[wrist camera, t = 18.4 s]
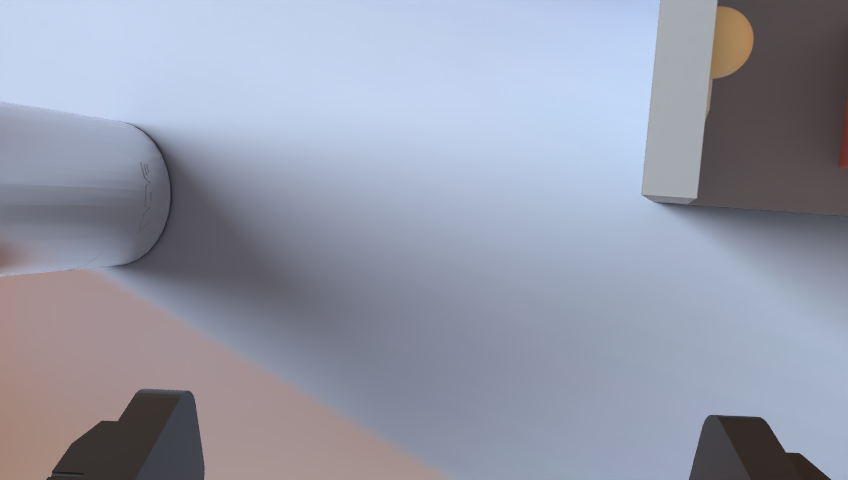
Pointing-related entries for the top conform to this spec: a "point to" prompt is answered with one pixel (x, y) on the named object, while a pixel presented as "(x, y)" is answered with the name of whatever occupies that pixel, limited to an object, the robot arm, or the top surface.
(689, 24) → the grey peg stand
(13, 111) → the robot arm
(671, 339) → the top surface
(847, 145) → the tall coral upright block
